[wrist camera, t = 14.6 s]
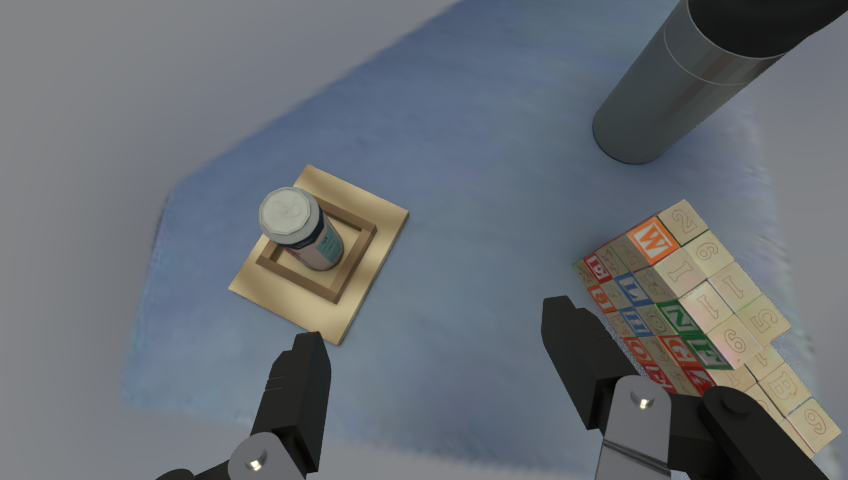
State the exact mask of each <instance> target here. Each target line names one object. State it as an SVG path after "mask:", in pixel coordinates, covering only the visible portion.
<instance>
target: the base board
mask: <svg viewBox="0 0 848 480" xmlns="http://www.w3.org/2000/svg"><path fill="white" fill-rule="evenodd" d="M293 187H296V188H300V189H303V190H305V191H307V192H309V193H310V194H311V195H312V196H313V197H314V198H315V200H316V201H317V203H318V204H319V206H320V207H321V209H322V210H323V212H324V213H325V215H326V216H327V218H328V219H329V220H330V222H331V223H332V225H333V226H334V228H335V229H336V231H337V232H338V234H339V235H340V237H341V238H342V240H343V245H344V252H343V255H342V257H341V259H340V261H339V262H338V263H337V264H336V265H335V266H334V267H332V268H330V269H328V270H324V271H315V270H312V269H309V268H308V267H306V266H305V265H304V264H303V263H301V262H300V261H299V260H297V259H296V258H295V257H293V256H292V255H291V254H289V253H288V252H287V251H285V250H284V249H283V248H281V247H280V246H279V245H277V244H276V243H275V242H273V241H272V240H270V239H269V238H268V237H267V236H266V235H265V234H264V233H263V234H262V236H261V238H260V239H259V241H258V242H257V244H256V245H255V247H254V249H253V250H252V252H251V253H250V255H249V256H248V258H247V260H246V261H245V263H244V264H243V266H242V267H241V269H240V271H239V272H238V274H237V275H236V277H235V278H234V280H233V281H232V283H231V285H230V286H229V288H228V289H230V290H232V291H234V292H236V293H238V294H240V295H242V296H243V297H245V298H247V299H249V300H251V301H253V302H255V303H257V304H259V305H261V306H263V307H264V308H266V309H268V310H270V311H272V312H274V313H276V314H278V315H280V316H282V317H284V318H285V319H287V320H289V321H291V322H293V323H295V324H297V325H299V326H301V327H303V328H305V329H306V330H308V331H310V332H314V331H319V332H320V333H321V336H322V338H324V339H326V340H327V341H329V342H331V343H333V344H335V345H340V344H341V342H342V340H343V339H344V337H345V335H346V333H347V331H348V329H349V327H350V325H351V324H352V322H353V320H354V318H355V316H356V314H357V312H358V310H359V308H360V307H361V305H362V303H363V301H364V299H365V297H366V295H367V293H368V292H369V290H370V288H371V286H372V284H373V282H374V280H375V278H376V276H377V275H378V273H379V271H380V269H381V267H382V265H383V263H384V261H385V260H386V258H387V256H388V254H389V252H390V250H391V248H392V246H393V245H394V243H395V241H396V239H397V237H398V235H399V233H400V231H401V229H402V228H403V226H404V224H405V222H406V220H407V218H408V216H409V211H407V210H405V209H403V208H401V207H399V206H397V205H394V204H392V203H390V202H388V201H386V200H384V199H382V198H379V197H377V196H375V195H373V194H371V193H369V192H367V191H364V190H362V189H360V188H358V187H356V186H354V185H351V184H349V183H347V182H345V181H343V180H341V179H339V178H336V177H334V176H332V175H330V174H328V173H326V172H324V171H321V170H319V169H317V168H315V167H313V166H311V165H309V164H307V166H306V167H305V169H304V170H303V172H302V173H301V175H300V176H299V178H298V180H297V181H296V183H295V184H294V186H293Z"/></svg>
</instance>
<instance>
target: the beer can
mask: <svg viewBox="0 0 848 480" xmlns="http://www.w3.org/2000/svg"><path fill="white" fill-rule="evenodd" d="M258 220H259V225H260V228H261V230H262V232H263V233H264V234H265V235H266V236H267V237H268V238H269V239H270V240H272V241H273V242H275V243H276V244H277V245H279V246H280V247H281V248H283V249H284V250H285V251H287V252H288V253H289V254H291V255H292V256H293V257H295V258H296V259H297V260H299V261H300V262H301V263H303V264H304V265H305V266H306V267H308V268H309V269H312V270H315V271H324V270H328V269H330V268H332V267H334V266H335V265H336V264H337V263H338V262H339V261H340V259H341V257H342V255H343V252H344V245H343V240H342V238H341V237H340V235H339V234H338V232H337V231H336V229H335V228H334V226H333V225H332V223H331V222H330V220H329V219H328V218H327V216H326V215H325V213H324V212H323V210H322V209H321V207H320V206H319V204H318V203H317V201H316V200H315V198H314V197H313V196H312V195H311V194H310V193H309V192H307V191H305V190H303V189H300V188H296V187H282V188H280V189H278V190H276V191H273V192H271V193H269V194H268V195H267V197H266V198H265V200H264V201H263V203H262V204H261V205H260V210H259V216H258Z"/></svg>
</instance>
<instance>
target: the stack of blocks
mask: <svg viewBox="0 0 848 480" xmlns="http://www.w3.org/2000/svg"><path fill="white" fill-rule="evenodd" d="M572 267H573V268H574V270H575V271H576V273H577V274H578V276H579V277H580V279H581V280H582V282H583V283H584V284H585V286H586V287H587V290H588V291H589V293H590V294H591V296H592V297H593V299H594V300H595V301H596V303H597V304H598V306H599V307H600V309H601V310H602V312H603V313H604V314H605V316H606V317H607V319H608V320H609V322H610V323H611V325H612V326H613V327H614V329H615V330H616V332H617V333H618V335H619V336H620V337H621V338H623V340H624V341H625V343H626V344H627V345H628V347H629V348H630V350H631V351H632V353H633V354H634V355H635V357H636V358H637V360H638V361H639V362H640V363H641V364H642V366H643V367H644V369H645V370H646V372H647V373H648V375H649V376H650V377H651V379H652V380H653V381H654V382H656V383H658V384H659V385H660V386H661V387H662V388H663V389H664V390H665V391H666V392H670V393H675V394H682V395H690V396H698V397H702V396H703V393H704V392H705V390H706V389H708V388H709V387H712V386H727V387H731V388H735V389H737V390H740V391H742V392H744V393H746V394H747V395H749V396H751V397H752V398H753V399H755V400H756V401H757V402H758V403H759V404H760V405H761V406H762V407H763V408H764V409H765V410H766V411H767V413H768V414H769V415H770V416H771V417H772V418H773V419H774V420H775V421H776V422H777V423H778V424H779V426H780V427H781V428H782V429H783V430H784V431H785V432H786V433H787V434H788V435H789V436H790V438H791V439H792V440H793V441H794V442H795V443H796V444H797V445H798V446H799V447H800V448H801V449H802V451H803V452H804V453H805V454H806V455H807V456H808V457H809V458H812V457H813V456H814V453H816V452H817V451H819V450H820V449H821V448H823V447H824V446H825V445H826V444H828V443H829V442H830V441H831V440H832V439H834V438H835V437H836V436H837V435H839V434H840V433H841V430H840V429H839V427H838V426H837V425H836V424H835V423H834V422H833V420H832V419H831V418H830V417H829V416H828V414H827V413H826V412H825V411H824V409H823V408H822V407H821V406H820V405H819V403H818V402H817V401H816V400H815V399H814V398H813V397H812V394H811V393H810V391H809V390H808V389H807V388H806V386H805V385H804V384H803V383H802V381H801V380H800V379H799V378H798V377H797V375H796V374H795V373H794V372H793V371H792V369H791V368H790V367H789V366H788V365H787V363H785V362H784V360H783V358H782V357H781V356H780V354H779V353H778V352H777V351H776V350H775V348H774V347H773V346H772V345H771V344H770V342H771V341H773V340H774V339H776V338H777V337H778V336H780V335H781V334H783V333H784V332H786V331H787V330H789V329H790V328H791V325H790V324H789V322H788V321H787V320H786V319H785V318H784V317H783V315H782V314H781V313H780V312H779V311H778V310H777V308H776V307H775V306H774V305H773V304H772V302H771V301H770V300H769V299H768V298H767V297H766V296H765V294H763V293H762V292H761V291H760V289H759V288H758V287H757V285H756V284H755V283H754V282H753V281H752V280H751V279H750V277H749V276H748V275H747V274H746V273H745V272H744V270H743V269H742V268H741V267H740V266H739V265H738V264H737V263H736V262H735V259H734V258H733V257H732V255H731V254H730V253H729V252H728V251H727V250H726V248H725V247H724V246H723V245H722V243H721V242H720V241H719V240H718V239H717V238H716V236H715V235H714V234H713V233H712V232H711V231H710V230H708V226H707V225H706V223H705V222H704V221H703V220H702V219H701V217H700V216H699V215H698V214H697V213H696V211H695V210H694V209H693V208H692V207H691V205H690V204H689V203H688V202H687V201H686V200H685V199H683V200H681V201H679V202H678V203H676V204H674V205H673V206H671V207H669V208H668V209H666V210H664V211H663V212H662V211H659V212H658V213H656V214H654V215H652V216H651V217H649V218H647V219H646V220H644V221H643V222H641V223H639V224H638V225H636V226H634V227H633V228H631V229H630V230H628V231H626V232H625V233H623V234H622V235H620V236H618V237H616V238H615V239H613V240H612V241H610V242H608V243H607V244H605V245H603V246H602V247H600V248H598V249H597V250H595V251H594V252H593V253H591V254H589V255H588V256H586V257H584V258H583V259H581V260H579V261H578V262H576V263H574V264H572Z"/></svg>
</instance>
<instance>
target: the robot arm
mask: <svg viewBox="0 0 848 480" xmlns="http://www.w3.org/2000/svg"><path fill="white" fill-rule="evenodd" d="M847 10H848V0H680V2H679V3H678V4H677V6H676V7H675V8H674V10H673V11H672V12H671V14H670V15H669V16H668V18H667V19H666V20H665V22H664V23H663V24H662V26H661V27H660V28H659V30H658V31H657V32H656V34H655V35H654V36H653V38H652V39H651V40H650V42H649V43H648V44H647V46H646V47H645V48H644V50H643V51H642V52H641V54H640V55H639V56H638V58H637V59H636V60H635V62H634V63H633V64H632V66H631V67H630V68H629V70H628V71H627V72H626V74H625V75H624V76H623V78H622V79H621V80H620V82H619V83H618V84H617V86H616V87H615V88H614V90H613V91H612V92H611V94H610V95H609V96H608V98H607V99H606V100H605V102H604V103H603V104H602V106H601V107H600V108H599V110H598V111H597V113H596V115H595V117H594V121H593V132H594V135H595V138H596V140H597V142H598V144H599V145H600V147H601V148H602V149H603V150H604V151H605V152H606V153H607V154H609V155H610V156H611V157H613V158H615V159H617V160H619V161H622V162H625V163H631V164H643V163H646V162H650V161H652V160H654V159H656V158H657V157H658V156H660V155H661V154H662V153H663V152H665V151H666V150H667V149H668V148H670V147H671V146H672V145H673V144H675V143H676V142H677V141H679V140H680V139H681V138H682V137H684V136H685V135H686V134H687V133H689V132H690V131H691V130H692V129H694V128H695V127H696V126H697V125H699V124H700V123H701V122H702V121H704V120H705V119H706V118H707V117H709V116H710V115H711V114H712V113H714V112H715V111H716V110H717V109H719V108H720V107H721V106H722V105H724V104H725V103H726V102H727V101H729V100H730V99H731V98H732V97H734V96H735V95H736V94H737V93H739V92H740V91H741V90H742V89H743V88H745V87H746V86H747V85H748V84H750V83H751V82H752V81H753V80H755V79H756V78H757V77H758V76H759V75H761V74H762V73H763V72H764V71H766V70H767V69H768V68H769V67H770V66H772V65H773V64H774V63H776V62H777V61H778V60H779V59H781V58H782V57H783V56H784V55H786V54H787V53H788V52H789V51H790V50H791V49H793V48H794V47H796V46H797V45H798V44H799V43H800V42H802V41H803V40H804V39H806V38H807V37H808V36H810V35H812V34H813V33H815V32H817V31H819V30H821V29H822V28H824V27H825V26H827V25H828V24H830V23H831V22H833V21H834V20H836V19H837V18H838V17H840V16H841V15H842V14H844V13H845V12H846V11H847ZM541 334H542V340H543V343H544V346H545V348H546V350H547V352H548V354H549V356H550V358H551V360H552V362H553V364H554V366H555V368H556V370H557V372H558V374H559V376H560V378H561V380H562V382H563V384H564V386H565V388H566V390H567V392H568V394H569V395H570V397H571V399H572V401H573V403H574V405H575V407H576V409H577V411H578V413H579V415H580V417H581V419H582V421H583V423H584V425H585V427H586V429H587V430H591V429H597V428H599V429H600V431H601V433H602V435H603V437H604V438H603V442H602V447H601V451H600V456H599V461H598V465H597V470H596V475H595V479H594V480H671V470H676V471H682V472H686V473H687V475H688V476H689V478H690V479H691V480H829V479H828V478H827V477H826V476H825V474H824V473H823V472H822V471H821V470H820V469H819V468H818V467H817V466H816V465H815V464H814V463H813V461H812V460H811V459H810V458H809V457H808V456H807V455H806V454H805V453H804V452H803V451H802V449H801V448H800V447H799V446H798V445H797V444H796V443H795V442H794V441H793V440H792V439H791V438H790V436H789V435H788V434H787V433H786V432H785V431H784V430H783V429H782V428H781V427H780V426H779V424H778V423H777V422H776V421H775V420H774V419H773V418H772V417H771V416H770V415H769V414H768V413H767V411H766V410H765V409H764V408H763V407H762V406H761V405H760V404H759V403H758V402H757V401H756V400H755V399H753V398H752V397H751V396H749V395H747V394H746V393H744V392H742V391H740V390H737V389H735V388H731V387H727V386H712V387H709V388H708V389H706V390H705V392H704V393H703V396H702V397H698V396H690V395H682V394H675V393H670V392H666V391H665V390H664V389H663V388H662V387H661V386H660V385H659V384H658V383H656V382H654V381H653V380H651V379H648V378H646V377H642V376H641V375H640V374H639V373H638V372H637V370H636V369H635V368H634V366H633V365H632V363H631V362H630V361H629V359H628V358H627V357H626V355H625V354H624V353H623V351H622V350H621V349H620V347H619V346H618V344H617V343H616V342H615V340H613V339H612V336H611V335H610V334H609V332H608V331H607V330H606V329H605V327H604V326H603V324H602V323H601V321H600V320H599V319H598V317H597V316H595V315H594V314H592V313H591V312H590V311H588V310H587V309H585V308H578V309H576V308H575V306H574V305H573V303H572V302H571V300H570V299H569V298H568V297H567V296H558V297H551V298H545V299H544V301H543V312H542V325H541ZM330 383H331V364H330V360H329V357H328V354H327V351H326V348H325V345H324V342H323V339H322V336H321V333H320V332H319V331H314V332H308V333H301V334H297V335H296V337H295V340H294V344H293V348H292V350H289V351H283V352H282V353H281V354H280V356H279V357H278V358H277V359H276V361H275V362H274V363H273V365H272V368H271V371H270V375H269V380H268V381H267V384H266V387H265V392H264V394H263V397H262V400H261V403H260V406H259V409H258V412H257V416H256V419H255V422H254V425H253V428H252V431H251V434H250V437H249V438H247V439H245V440H244V441H243V442H242V443H241V444H240V445H239V446H238V447H237V448H236V449H235V450H234V452H233V453H232V455H231V457H230V459H229V460H227V461H225V462H224V463H222V464H220V465H218V466H216V467H213V468H211V469H209V470H207V471H204V472H202V473H200V474H198V475H196V476H194V475H193V474H192V473H191V471H189V470H187V469H176V470H172V471H169V472H167V473H165V474H163V475H162V476H160V477H159V478H157V479H156V480H306V475H307V473H313V472H318V468H319V461H320V454H321V447H322V440H323V433H324V426H325V419H326V412H327V404H328V397H329V390H330ZM670 469H671V470H670Z"/></svg>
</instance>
